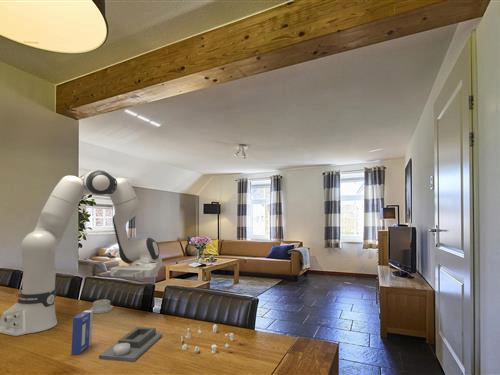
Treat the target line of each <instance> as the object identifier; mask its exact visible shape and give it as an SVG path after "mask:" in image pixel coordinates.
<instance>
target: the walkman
mask: <svg viewBox="0 0 500 375" xmlns="http://www.w3.org/2000/svg"><path fill="white" fill-rule="evenodd" d="M93 314H94V313H93V311H90V309H88V310H83V311H82V312H81V313H79V314H77V315H76V316H74V317H73V318H72V330H71V331H72V334H71V351H70V354H71V355H81V354H82V353H83V352H85V351H86V350H88V348H90V346H91V345H92V337H93V335H92V334H93Z"/></svg>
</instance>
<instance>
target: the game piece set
mask: <svg viewBox="0 0 500 375" xmlns="http://www.w3.org/2000/svg"><path fill="white" fill-rule="evenodd" d="M217 330H218V325H217V324H214V325H213V326H212V332H213V333H214V334H216V333H217ZM186 331H187V333H185V334H184V335H181V336H180V339H181V340H180V341H181V344H182V343H183V342H184V341H183V340H184V336H185V338H186V339H189V338H191V337H192V334H190V331H191V329H190V328H189V327H188V328H187V329H186ZM197 333H198V334H202V331H201V329H200V326H198V330H197ZM234 335H235V334H234V333H233V332H228V333H225V334H224V336H225V337H228V336H229V337H230V338H229V339H230V341H231V342H233V341H234V338H235V336H234ZM217 347H218V346H217V345H216V344H212V345H211V349H212V350H211V354H216V353H217V351H216V349H218V348H217ZM181 348H182V349H181V350H182V351H187V350H188V344H187V343H183V345H182V346H181ZM225 348H226V349H229V348H230V344H228V342H226V344H225ZM193 352H195V354H198V352H200V348H199V347H198V346H195V348H194V350H193Z"/></svg>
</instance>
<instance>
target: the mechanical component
mask: <svg viewBox="0 0 500 375" xmlns="http://www.w3.org/2000/svg"><path fill="white" fill-rule="evenodd" d="M112 310H114V306H113V304H111V300H109V299H97V300H94V301H93V302H92V307H90V308H89V311H93V314H104V313H108V312H111V311H112Z"/></svg>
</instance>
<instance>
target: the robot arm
mask: <svg viewBox="0 0 500 375" xmlns="http://www.w3.org/2000/svg"><path fill="white" fill-rule="evenodd" d="M86 194H92V195H95V196H98V195H99V196H103V195H107V196H108V197H109V198H110V200H111V202H112V205H113V207H114V214H113V216H112V225H113V229H114V233H115V239H116V241H117V245H118V254H119V258H120V259H121V261H123V262H124V263H126V264H128V265H117V266H113V267H110V269H109V275H110V277H114V278H116V277H122V278H123V277H125V278H126V277H127V278H134V279H136V280H143V279H150V278H157V277H158V275H159V271H160V269H161V268H162V266H163V260H162V257H161V256H160V247H159V245H158V242H157V241H156V240H155V239H153V238H152V237H147V238H142V239H139V240H136V241H132V242H131V241H130V239H129V235H128V231H127V224H128V222H129V221H131V219H133V218H135V217H136V216H137V214H138V213H139V211H140V206H141V205H140V201H139V199H138V196H137V194H136V192H135V190H134V188H133V186H132V184H131V183H130V181H129V180H128V179H127V178H125V177H117V178H115V177H114V176H112V175H111V174H109V172H106V171H105V170H99V169H94V170H90V171H88V172H86V173H84V174H83V175H81V176H76V175H69V174H68V175H65V176H63V177H62V178H61V179H60V180H59V181H58V183H57V184H56V185H55V187H54V189H53V190H52V192H51V193H50V195H49V197H48V198H47V201H46V203H45V204H44V206H43V208H42V210H41V211H40V215H39V218H38V221H37V222H36V225H35V228H34V230H32V231H31V232H29V233H28V234H26V235H25V236H24V238H23V239H22V241H21V244H20V251H21V263H22V288H21V293H19V294H15V296H14V297H15V298H16V299H17V301H16V302H15V303H14V304H13V305H12V306H10V307H8V308H7V309H6V310H5V311H3V313H2V314H1V317H0V334H5V335H9V336H13V337H18V336H23V335H26V334H27V335H28V334H33V333H38V332H43V331H46V330H49V329H52V328H53V327H55V326H57V325H58V320H57V316H56V306H55V305H56V304H55V301H56V298H57V297H56V296H57V295H56V294H57V289H56V272H57V270H56V257H55V256H56V250H57V249H58V247H59V246H60V243H61V241H62V239H63V237H64V235H65V232H66V231H67V228H68V225H69V224H70V221H71V219H72V218H73V215H74V214H75V211H76V210H77V208H78V205H79V203H80V202H81V200H82V198H83V197H84V196H85V195H86ZM129 264H131V265H129Z"/></svg>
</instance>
